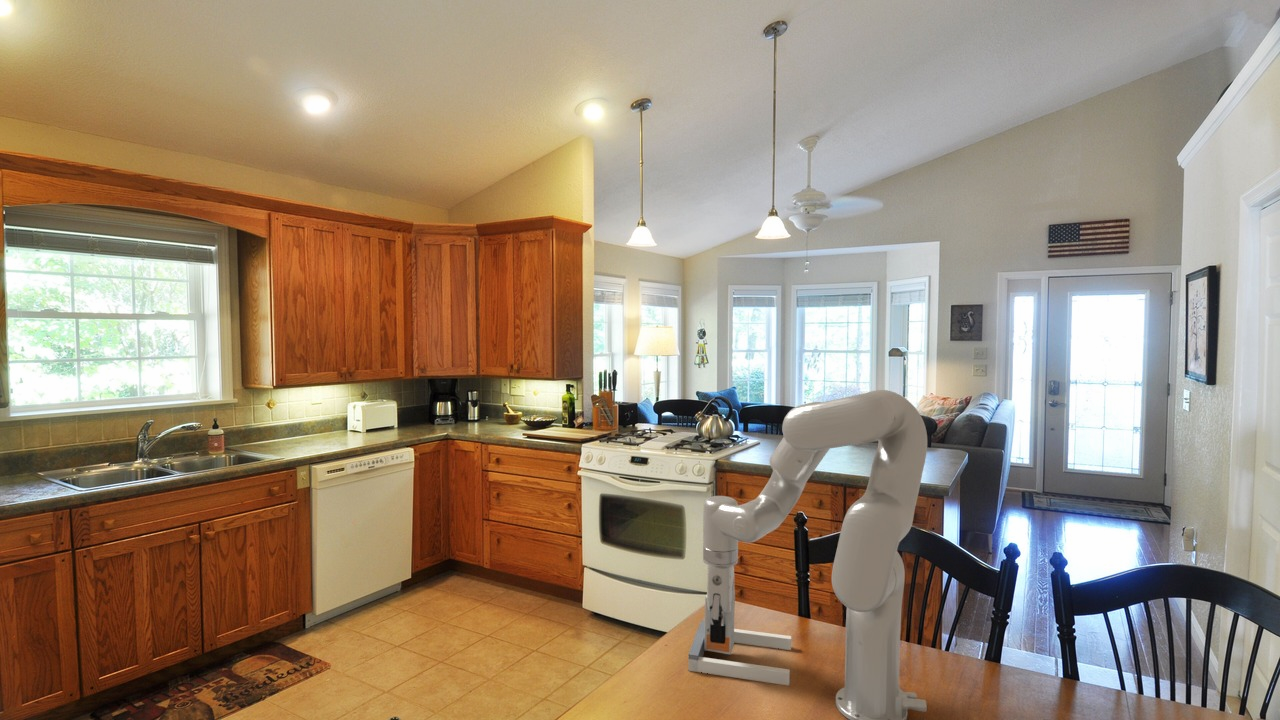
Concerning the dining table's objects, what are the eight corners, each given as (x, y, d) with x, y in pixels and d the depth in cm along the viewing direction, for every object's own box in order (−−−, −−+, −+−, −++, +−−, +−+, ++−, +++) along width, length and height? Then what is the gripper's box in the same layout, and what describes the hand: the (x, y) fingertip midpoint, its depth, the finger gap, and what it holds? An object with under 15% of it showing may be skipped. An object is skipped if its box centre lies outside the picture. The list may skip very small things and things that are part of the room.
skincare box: (703, 651, 135) (704, 597, 134) (707, 642, 139) (708, 589, 138) (731, 655, 133) (732, 600, 132) (734, 646, 137) (735, 592, 137)
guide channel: (791, 646, 140) (791, 631, 140) (789, 685, 124) (789, 668, 124) (700, 634, 145) (701, 620, 145) (688, 670, 130) (688, 654, 129)
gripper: (733, 570, 126) (732, 658, 127) (741, 543, 142) (740, 621, 143) (696, 566, 128) (695, 653, 129) (709, 540, 144) (708, 617, 145)
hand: (719, 635), depth 136 cm, fingers closed on skincare box, 4 cm apart
